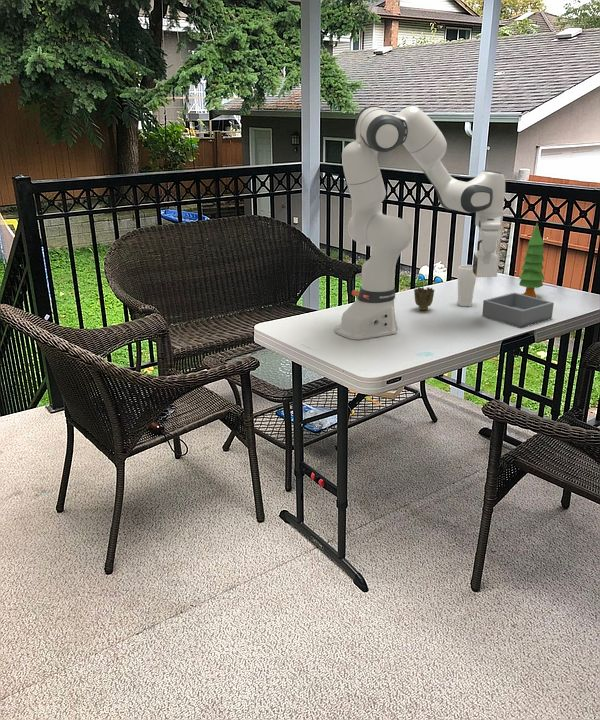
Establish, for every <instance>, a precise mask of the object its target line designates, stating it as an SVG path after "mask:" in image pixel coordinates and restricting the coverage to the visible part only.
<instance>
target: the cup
mask: <svg viewBox="0 0 600 720" xmlns="http://www.w3.org/2000/svg"><path fill="white" fill-rule="evenodd" d="M413 291H414V292H413V293H414V301H415V304H416V306H418V311H421V312H426V311H428V310H429V307H431V305H432V304H433V299H434V295H435V289H433V287H431V288H430V287H429V286H428V287H427V288H425V287H424V286H422V287H417V288H414V290H413Z"/></svg>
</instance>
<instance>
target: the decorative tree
mask: <svg viewBox="0 0 600 720" xmlns="http://www.w3.org/2000/svg"><path fill="white" fill-rule="evenodd" d="M539 228H540V227H539V223H538V222H536V224H535V226H534V229H533V232H532V235H531V237H530V239H529V241H528V244H527V245H528V246H527V249H526V251H525V252H526V253H525V255H524V257H523V262H524V263H523V265H522V267H521V271H522V272H521V274H520V276H519V278H518V279H519V280H520V281H519V287H520V286H521V287H525V292H524V293H523V294H522V295H526V296H530V297H534V298H536V297H537V295H536V291H535V289H538V288H541V287H543V286H544V284H543V280H546V278H545V277H544V273H543V271H542V270H543V269H544V265H543V262H545V259H544V255H543V254H544V253H545V249H544V246H543V245H545V243H544V240H543V237H542V235H541V232H540V229H539Z"/></svg>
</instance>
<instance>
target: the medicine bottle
mask: <svg viewBox="0 0 600 720" xmlns="http://www.w3.org/2000/svg"><path fill="white" fill-rule="evenodd" d="M496 248H497V247H496ZM496 248H495V251H494V253H491V256H490V263H489V264H484V252H483V249H482V240H480V239H479V240H478V241H477V249H476V251H475V252H473V257H472V258H473V260H472V261H473V262H472V265H473V273H474V275H475V276H476V278H494V277H497V276H498V270H499V269H498V267H499V266H498V265H499V256H498V255H497V253H496Z"/></svg>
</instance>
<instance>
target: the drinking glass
mask: <svg viewBox="0 0 600 720" xmlns="http://www.w3.org/2000/svg"><path fill="white" fill-rule="evenodd" d="M476 280H477V277H476V276H475V275H474V273H473V264H462V265H458V269H457V305H458V306H459V305H460V307H467V306H468V307H471V306H472V304H473V298H474V291H475V286H476V285H475V284H476Z"/></svg>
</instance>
